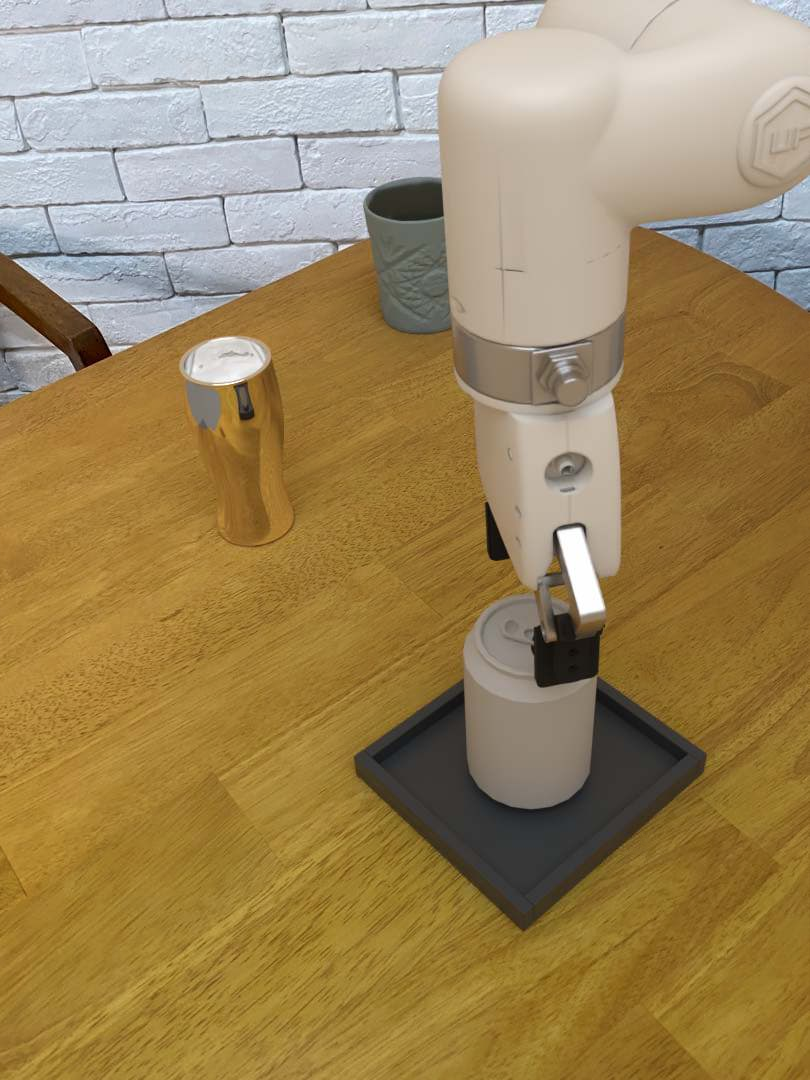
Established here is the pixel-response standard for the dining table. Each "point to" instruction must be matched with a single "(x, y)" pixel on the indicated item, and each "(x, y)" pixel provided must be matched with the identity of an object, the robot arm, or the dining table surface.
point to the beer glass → (239, 435)
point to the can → (522, 712)
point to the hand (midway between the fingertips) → (539, 612)
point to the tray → (529, 834)
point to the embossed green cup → (410, 253)
